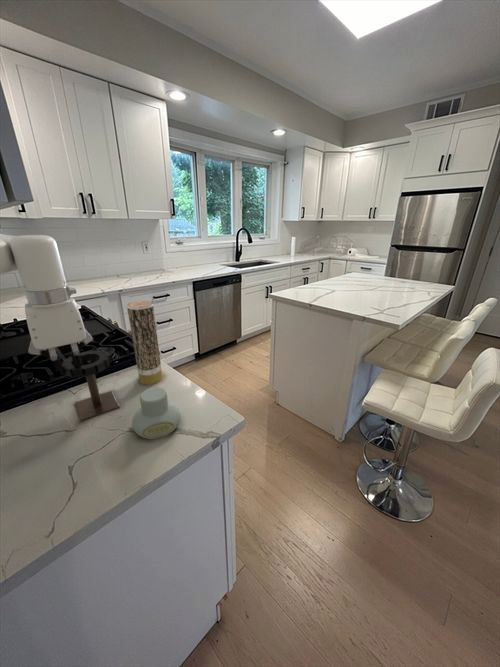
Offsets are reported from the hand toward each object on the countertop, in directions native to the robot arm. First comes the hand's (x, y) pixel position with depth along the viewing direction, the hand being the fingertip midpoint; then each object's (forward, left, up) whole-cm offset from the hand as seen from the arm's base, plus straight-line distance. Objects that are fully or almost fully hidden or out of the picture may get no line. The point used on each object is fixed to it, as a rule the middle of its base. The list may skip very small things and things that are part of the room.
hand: (69, 369), depth 66 cm
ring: (+4, 0, 0) cm, 4 cm away
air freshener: (+14, -17, -13) cm, 26 cm away
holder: (+4, 0, -13) cm, 14 cm away
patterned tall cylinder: (+20, +5, -13) cm, 25 cm away
